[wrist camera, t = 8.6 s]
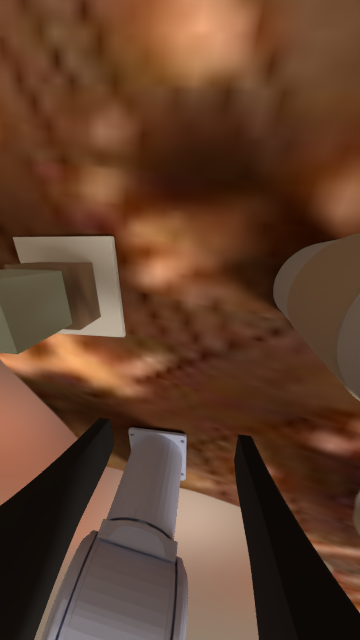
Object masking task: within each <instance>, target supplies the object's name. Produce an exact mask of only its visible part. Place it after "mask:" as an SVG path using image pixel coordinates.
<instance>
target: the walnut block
mask: <svg viewBox="0 0 360 640" xmlns="http://www.w3.org/2000/svg"><path fill="white" fill-rule="evenodd" d="M4 267H5V269H25V270H51V271H61V272H62V276H63V281H64V286H65V291H66V295H67V300H68V305H69V310H70V314H71V319H72V324H71V325H70V326H68V327H66V328H64V329H67V330H81V329H83V328H84V327H86V326H88V325H89V324H91V323H92V322H94V321H95V320H97V319H98V318H100V317H101V313H100V307H99V301H98V295H97V289H96V283H95V277H94V271H93V264H92V262H32V263H18V264H5V265H4Z"/></svg>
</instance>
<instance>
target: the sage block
mask: <svg viewBox="0 0 360 640" xmlns="http://www.w3.org/2000/svg"><path fill="white" fill-rule="evenodd" d="M71 324H72V319H71V314H70V310H69V305H68V300H67V295H66V291H65V286H64V281H63V276H62V272H61V271H51V270H25V269H5V270H0V353H10V354H19V353H21V352H23V351H25V350H26V349H28V348H30V347H32V346H34V345H35V344H37V343H39V342H41V341H43V340H44V339H46V338H48V337H50V336H52V335H53V334H55V333H57V332H59V331H61V330H62V329H64V328H66V327H68V326H70V325H71Z"/></svg>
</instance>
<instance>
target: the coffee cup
mask: <svg viewBox="0 0 360 640" xmlns="http://www.w3.org/2000/svg"><path fill="white" fill-rule="evenodd" d="M273 296H274V300H275V303H276V305H277V307H278V308H279V310H280V311H281V312H282V313H283V314H284V315H285V316H286V317H287V319H288V320H289V321H290V322H291V324H292V326H293V328H294V329H295V330H296V332H297V333H298V334H299V335H300V336H301V337H302V339H303V340H304V341H305V342H306V343H307V344H308V345H309V347H310V348H311V349H312V350H313V351H314V352H315V354H316V355H317V356H318V357H319V358H320V359H321V360H322V362H323V363H324V364H325V365H326V366H327V367H328V368H329V370H330V371H331V372H332V373H333V374H334V375H335V376H336V378H337V379H338V380H339V381H340V382H341V383H342V385H343V386H344V387H345V388H346V389H347V390H348V391H349V392H350V393H351V394H352V395H353V396H354V397H355V398H356V399H358V400H359V401H360V233H357V234H353V235H350V236H347V237H344V238H342V239H338V240H333V241H328V242H323V243H317V244H313V245H310V246H308V247H305V248H303V249H301V250H300V251H298V252H296V253H295V254H294V255H292V256H291V257H290V258H289V259H288V260H287V261H286V262H285V263H284V264H283V266H282V267H281V268H280V270H279V272H278V274H277V276H276V278H275V281H274V286H273Z"/></svg>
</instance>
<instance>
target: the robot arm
mask: <svg viewBox="0 0 360 640" xmlns="http://www.w3.org/2000/svg"><path fill="white" fill-rule="evenodd" d="M128 432H129V439H130V446H131V454H130V457H129V459H128V462H127V465H126V467H125V470H124V473H123V476H122V478H121V481H120V484H119V486H118V489H117V492H116V495H115V497H114V500H113V503H112V505H111V508H110V511H109V513H108V516H107V519H103V521H102V524H101V527H100V529H99V532H98V531H95V530H93V531H91V532H90V534H89V535H87V536H86V537H85V538H84V539H83V540H82V541H81V543H80V545H79V547H78V549H77V550H76V553H75V555H74V557H73V559H72V561H71V563H70V565H69V567H68V570H67V572H66V574H65V577H64V579H63V581H62V584H61V586H60V589H59V591H58V594H57V596H56V599H55V601H54V604H53V606H52V609H51V612H50V615H49V617H48V620H47V623H46V626H45V630H44V632H43V635H42V639H41V640H186V628H187V611H188V580H187V573H186V570H185V567H184V565H183V561H182V559H181V558H180V557H177V556H176V554H177V542H176V541H174V533H175V524H176V516H177V506H178V497H179V488H180V480H185V479H186V435H185V434H183V433H174V432H166V431H158V430H150V429H142V428H134V427H131V428H129V431H128ZM113 446H114V440H113V434H112V429H111V424H110V419H104V418H99V419H98V420H97V421H96V422H95V423H94V424H93V425H92V426H91V427H90V428H89V429H88V430H87V431H86V432H85V433H84V434H83V435H82V436H81V437H80V438H79V439H78V440H77V441H76V442H74V443H73V444H72V445H71V446H70V447H69V448H68V449H67V450H66V451H65V452H64V453H63V454H62V455H61V456H60V457H59V458H58V459H56V460H55V461H54V462H53V463H52V464H51V465H50V466H49V467H47V468H46V469H45V470H44V471H43V472H42V473H41V474H39V475H38V476H37V477H36V478H35V479H34V480H32V481H31V482H30V483H29V484H27V485H26V486H25V487H24V488H22V489H21V490H20V491H19V492H18V493H16V494H15V495H14V496H13V497H11V498H10V499H9V500H7V501H6V502H5V503H3V504H2V505H1V506H0V640H34V638H35V635H36V632H37V630H38V627H39V624H40V622H41V619H42V616H43V613H44V611H45V608H46V605H47V602H48V600H49V597H50V594H51V592H52V589H53V586H54V584H55V581H56V579H57V576H58V573H59V571H60V568H61V565H62V563H63V560H64V558H65V555H66V553H67V550H68V548H69V545H70V543H71V540H72V538H73V536H74V533H75V531H76V528H77V526H78V524H79V522H80V519H81V517H82V515H83V513H84V511H85V509H86V507H87V504H88V503H89V500H90V498H91V496H92V494H93V492H94V490H95V488H96V486H97V484H98V482H99V480H100V478H101V476H102V474H103V471H104V469H105V467H106V465H107V462H108V460H109V457H110V454H111V452H112V449H113ZM234 463H235V474H236V484H237V490H238V496H239V501H240V507H241V512H242V518H243V524H244V529H245V535H246V540H247V546H248V552H249V558H250V565H251V573H252V581H253V590H254V599H255V607H256V617H257V626H258V635H259V640H360V613H359V611H358V610H357V608H356V607H355V606H354V604H353V603H352V602H351V600H350V599H349V597H348V596H347V595H346V593H345V592H344V591H343V589H342V588H341V586H340V585H339V584H338V582H337V581H336V579H335V578H334V576H333V575H332V573H331V572H330V571H329V569H328V568H327V566H326V565H325V563H324V562H323V560H322V559H321V557H320V556H319V554H318V553H317V551H316V550H315V548H314V547H313V545H312V544H311V542H310V541H309V539H308V538H307V536H306V535H305V533H304V531H303V530H302V528H301V527H300V525H299V523H298V522H297V520H296V519H295V517H294V515H293V514H292V512H291V510H290V509H289V507H288V505H287V504H286V502H285V500H284V498H283V497H282V495H281V493H280V491H279V490H278V488H277V486H276V484H275V482H274V481H273V479H272V477H271V475H270V473H269V471H268V470H267V468H266V466H265V464H264V462H263V460H262V458H261V456H260V454H259V452H258V449H257V447H256V445H255V443H254V441H253V438H252V437H251V436H246V435H238V440H237V447H236V453H235V459H234Z"/></svg>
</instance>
